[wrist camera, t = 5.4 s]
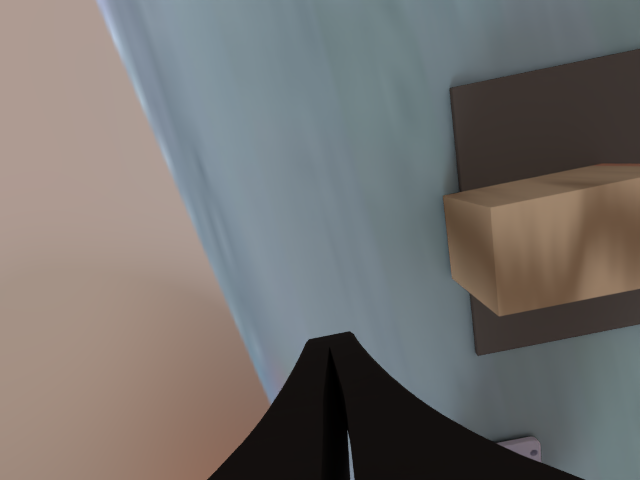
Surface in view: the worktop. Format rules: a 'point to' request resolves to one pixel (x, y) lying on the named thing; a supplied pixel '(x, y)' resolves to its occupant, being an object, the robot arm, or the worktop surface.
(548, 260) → the maple block
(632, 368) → the worktop surface
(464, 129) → the rubber mat
